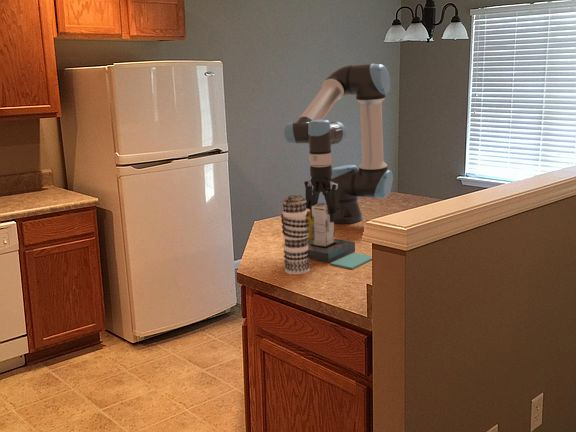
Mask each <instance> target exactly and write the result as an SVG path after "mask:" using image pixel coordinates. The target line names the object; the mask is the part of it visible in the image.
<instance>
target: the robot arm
mask: <svg viewBox="0 0 576 432" xmlns="http://www.w3.org/2000/svg"><path fill="white" fill-rule="evenodd" d="M390 90H391V77H390V73H389V70H388V69H387V67H386V66H385V65H383V64H379V63H369V64H366V63H365V64H348V65H344V66H342V67H339V68H338V69H336V70H334V71H333V72H332V73H331V74H329V76H327V78H326V79H324V80H323V82H322V84H321V88H320V90H319V91H318V93H317V94H316V95H315V97H314V98H313V99H312V101H311V102H310V103H309V104H308V106H307V107H306V108H305V110H304V111H303V113H302V114H301V115H300V116H299V118H298V119H297V120H296V122H294V121H293V122H287V123H286V124H285V126H284V129H283V136H284V139H285V141H286V142H287V143H289V144H308V150H309V152H308V153H309V164H310V166H309V172H310V174H309V175H310V177H311V179H310V180H306V181H304V186H305V200H307V202H306V209H307V210H309V211H310V212H311V219H312V206H314V205H316V204H319V203H318V202H319V199H320V198H319V197H320V194H321V193H322V195H323V197H324V201H325V203H326V204H327V207H328V211H329V212H328V213H327V227H328V232H330V231H333V230H334V231H335V224H353V223H358V222H360V221H362V220H363V212H362V210H361V207H360V205H359V202H358V201H359V200H358V198H371V199H372V198H374V199H385V198H387V197H388V195H389V194H390V192H391V191H392V187H393V182H394V181H393V180H394V175H393V172H392V170H390V169H388V164H387V163H386V162H385V161H384V134H383V133H384V132H383V131H384V130H383V108H382V107H383V104H382V103H383V101H384V100H386V95H387V94H389V93H390ZM349 95H351V96H352V95H355V96H356V97H355V100H356V102H358V103H359V108H360V112H359V113H360V131H361V132H360V135H361V155H362V156H361V157H362V158H361V159H362V162H361V163H360V164H359V166H357V165H356V164H346V165H341V166H337V167H332V164H333V163H332V145H336V144H339V143H341V142H342V141H344V140H345V138H346V137H347V128H346V126H345V125H344V124H343V123H342V122H340V121H332V122H331V121H330V120H329V119H325V117H326V116H327V115H328V113H329V112H330V110H332V107H333V106H334V105H335V104H336V102H337V101H339V100H341V99H342V98H343V97H344V96H349Z"/></svg>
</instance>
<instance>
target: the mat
mask: <svg viewBox="0 0 576 432" xmlns="http://www.w3.org/2000/svg"><path fill="white" fill-rule="evenodd" d="M371 256H372V255H368V254H363V253H357V252H353V253H350V254H348V255H346V256H344V257H342V258H339V259H337V260H335V261H333V262H330V263H329V264H330V266H334V267H338V268H339V267H340V268H344V269H349V270H354V269H356V268H358V267H360V266H362V265H364V264H366V263H368V262H371V261H372V260H371Z"/></svg>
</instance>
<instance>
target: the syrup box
mask: <svg viewBox="0 0 576 432" xmlns="http://www.w3.org/2000/svg"><path fill="white" fill-rule="evenodd" d="M328 212H329V211H328V207H327V204H326V202H319V203H317V204H316V205H314V206H312V233H313V245H317V246H325V247H326V246H328V245H330V244H332V243H334V238H335V229H334V230H333V231H330V232H328V227H327V213H328Z"/></svg>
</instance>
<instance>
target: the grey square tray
mask: <svg viewBox="0 0 576 432" xmlns="http://www.w3.org/2000/svg"><path fill="white" fill-rule="evenodd" d="M307 243H308V249H309V250H310V251H309V255H310V256H309V257H308V258H309V259H310V261H315V262H319V263H320V262H321V263H324V264H325V263H326V264H330V263H332V262H334V261H336V260H338V259H341V258H343V257H345V256H347V255H350V254H352V253H356V242H355V241H351V240H345V239H340V238H339V239H338V238H335V237H334V243H332V244H330V245H328V246H326V247H325V246H317V245H313V239H310V240H307Z"/></svg>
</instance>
